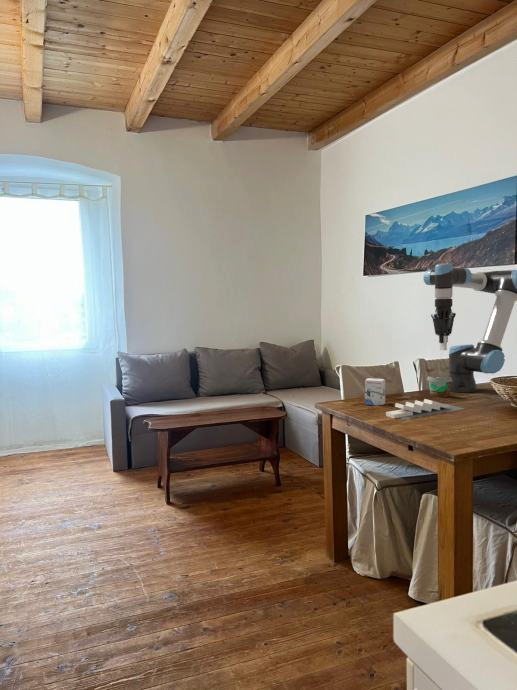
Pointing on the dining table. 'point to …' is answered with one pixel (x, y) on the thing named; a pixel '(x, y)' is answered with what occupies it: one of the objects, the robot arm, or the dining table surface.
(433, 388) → the food container
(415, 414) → the mat
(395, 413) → the domino
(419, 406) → the domino
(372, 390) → the ink box
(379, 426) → the dining table surface
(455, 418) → the dining table surface
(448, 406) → the domino
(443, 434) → the dining table surface
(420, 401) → the domino
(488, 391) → the dining table surface
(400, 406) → the domino
